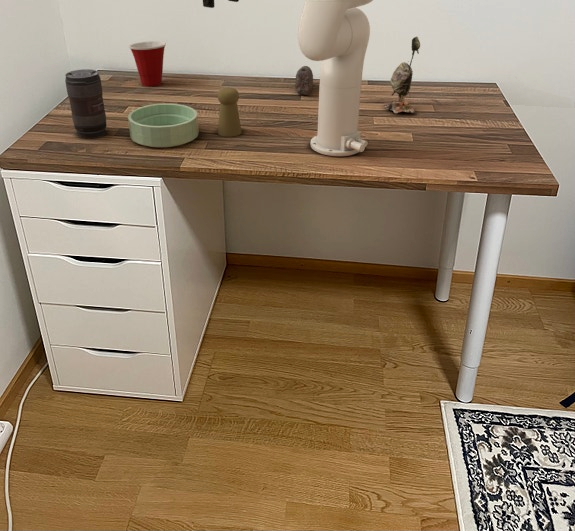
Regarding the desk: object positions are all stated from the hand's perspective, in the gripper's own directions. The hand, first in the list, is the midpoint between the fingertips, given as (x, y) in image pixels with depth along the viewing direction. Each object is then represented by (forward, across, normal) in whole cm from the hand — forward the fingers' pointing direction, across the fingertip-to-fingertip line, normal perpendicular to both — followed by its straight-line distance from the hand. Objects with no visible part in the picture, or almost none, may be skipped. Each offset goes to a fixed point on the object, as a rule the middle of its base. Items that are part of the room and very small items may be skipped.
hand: (221, 4), depth 157 cm
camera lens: (+27, -34, +16) cm, 46 cm away
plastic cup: (+27, +5, +33) cm, 43 cm away
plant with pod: (+28, +29, -38) cm, 55 cm away
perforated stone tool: (+27, +27, -8) cm, 40 cm away
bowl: (+27, -24, 0) cm, 36 cm away
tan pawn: (+28, -13, -11) cm, 32 cm away
